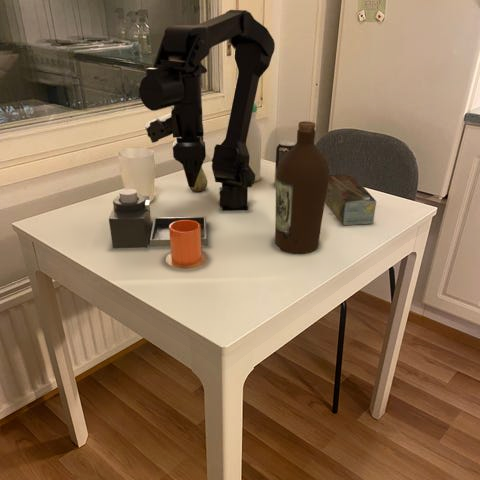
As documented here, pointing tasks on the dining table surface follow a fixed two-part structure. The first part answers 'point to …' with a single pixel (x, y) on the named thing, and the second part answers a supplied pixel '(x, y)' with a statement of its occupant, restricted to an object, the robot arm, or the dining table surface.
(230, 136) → the robot arm
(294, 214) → the olive oil
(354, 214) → the beverage carton
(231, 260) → the dining table surface
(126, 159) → the cup
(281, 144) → the beverage can
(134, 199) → the button
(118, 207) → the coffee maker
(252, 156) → the milk bottle
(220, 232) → the dining table surface
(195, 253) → the orange cup
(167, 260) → the cork coaster
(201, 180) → the green gourd vase
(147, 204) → the grey small block
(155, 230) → the drip tray
